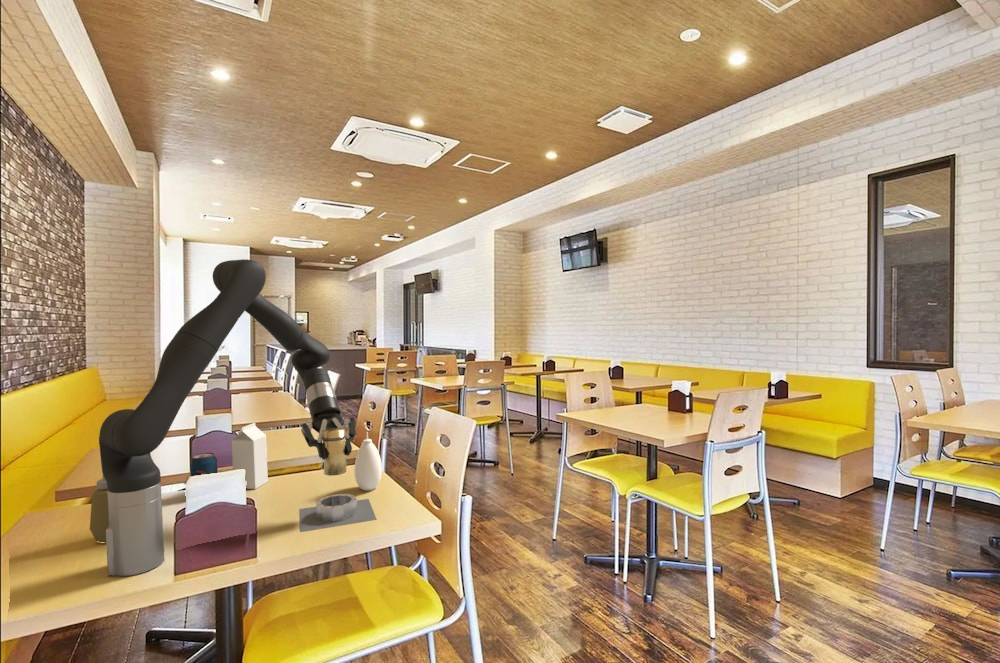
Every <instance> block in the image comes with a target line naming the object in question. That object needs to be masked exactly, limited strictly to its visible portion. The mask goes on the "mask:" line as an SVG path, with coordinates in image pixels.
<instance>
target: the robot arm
mask: <svg viewBox="0 0 1000 663" xmlns="http://www.w3.org/2000/svg"><path fill="white" fill-rule="evenodd" d="M265 270H266V269H265V268H264V266H263V265H262V264H261V263H259V261H257V260H254V259H245V258H244V259H243V258H242V259H234V260H233V259H231V260H229V259H228V260H226V261H225V260H224V261H221V262H220V263H218V264H217V265H216V266H215V267H214V268H213V270H212V281H213V284H214V286H215V288H216V290H218V291H219V294H218V295H217V296H216V297H215V298H214V300H212V302H210V303H209V304H208V305H207V306H205V307H204V308H203V309H201V310H200V311H198V313H196V314H195V315H194V316H192V317H191V318H189V319H188V320H187V321H186V322H185V323H184V324H183V325H182V326H181V327H180V328H179V329H178V331H177V332H176V333H175V335H174V336H173V338H172V339H171V340H170V342H168V344H167V345H166V347H165V348H164V350H163V353H162V356H161V358H160V362H159V365H158V369H157V370H158V371H157V375H156V378H155V381H154V383H153V385H152V387H151V388H150V390H149V391H148V393H147V394H146V396H145V397H144V398H143V399H142V401H141V402H140V403H139V404H138V406H137V407H136V408H135V409H134V408H133V409H132V408H131V409H129V408H125V409H120V410H119V409H118V410H115V411H114V412H112V413H110V414H109V415H108V416H107V417H106V418H105V419H104V421H103V422H102V424H101V427H100V429H99V436H98V441H99V454H100V463H101V464H100V465H101V473H102V477H103V476H104V478H105V480H106V482H107V490H108V510H109V527H108V529H107V530H106V543H105V544H106V546H105V547H106V560H107V562H106V563H107V564H106V565H107V576H108V575H112V576H117V577H126V576H127V577H128V576H134V575H138V574H142V573H146V572H148V571H150V570H152V569H154V568H158V567H159V566H160V565H162V564H163V562H164V561H165V544H164V543H165V542H164V522H163V502H162V500H163V499H162V484H161V483H162V482H161V471H160V468H159V467H158V466H157V465H156V463H155V462H154V460H153V457H152V456H151V453H152V452H154V451H155V450H156V449H157V448H158V447H159V446H160V445H161V444H162V442H163V441H164V440H165V438H166V436H167V435H168V432H169V430H170V429H171V426H172V425H173V423H174V421H175V419H176V416H177V415H178V414H179V411H180V409H181V407H182V406H183V404H184V402H185V400H186V399H187V397H188V396H189V394H190V393H191V391H192V390H193V388H194V386H195V385H196V384H197V382H198V380H199V379H200V378H201V376H202V375H203V373H204V372H205V370H206V369H207V368H208V366H209V365H210V363H211V362H212V360H213V359H214V357H215V356H216V355H217V353H218V351H219V349H220V348H221V346H222V344H223V342H224V341H225V340H226V338H227V337H228V336H229V333H230V332H231V331H232V330H233V328H234V327H235V325H236V323H237V322H238V320H239V319H240V318H241V316H242V315H243V314H244V312H246V313H247V314H249V316H251V317H252V318H253V320H255V321H256V322H258V323H259V324H260V325H261V326H262V327H263V328H264V329H266V331H267V332H268V333H270V335H271V336H272V337H273V338H274V339H275V340H276V341H277V342H278V343H279V344H280V346H282V348H283V349H285V351H288V352H294V353H293V354H292V357H291V360H290V361H291V364H292V367H293V368H294V369H295V371H296V372H297V374H298V375H299V377H300V378H301V380H302V382H303V385H304V390H305V394H306V402H307V403H306V404H307V407H308V410H309V414H310V415H309V416H310V418H311V423H306V422H304V423H302V425H301V426H302V427H301V428H300V429H301V433H302V436H303V438H304V440H305V441H306V443H307V445H308V447H309V448H313V447H314V448H316V450H317V454H318V457H319V458H320V459H321V460H323V461H324V459H326V456H327V455H326V450H325V447H324V443H323V440H322V436H323V430H325V429H329V428H344V426H343V425H345V426H346V428H348V432H347V431H346V430H345V435H346V438H345V446H346V457H347V456H350V455H351V453H352V451H353V446H352V443H351V442H353V441H354V440H355V437H356V434H357V431H356V420H355V417H353V416H350V418H345V417H344V416H343V415H342V413H341V409H340V405H339V402H338V399H337V398H338V397H337V396H336V392H335V390H334V387H333V385H332V382H331V378H330V374H329V372H328V371H327V370H326V369H324V368H322V366H324V365H326V364H327V363H328V362H329V361H330V359H331V352H330V350H329V348H328V347H327V346H326V345H325V344H324V343H323V342H321V341H320V340H319V339H317V338H315V337H313V336H311V334H309V333H308V332H306V331H304V330H303V328H302V327H301V325H299V323H297V321H296V320H295V319H294V318H293V317H292V316H290V315H289V314H288V313H287V312H286V311H284V310H283V309H281V308H280V307H278V306H277V305H275V304H274V303H272V302H270V300H268V299H266V298H265V297H264V296H263V295H262V294H261V293H262V290H263V288H264V287H265V284H266V281H267V279H266V278H267V275H266V274H267V273H266V271H265ZM320 367H321V368H320ZM312 430H314V431H315V432H317V433H318V436H317V439H316V438H315V437H314V435H313V433H312Z"/></svg>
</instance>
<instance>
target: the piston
mask: <svg viewBox="0 0 1000 663" xmlns="http://www.w3.org/2000/svg"><path fill="white" fill-rule="evenodd" d="M345 431H346V428H345V427H343V428H329V429H325V430H323V436H322V440H323V441H322V443H324V447H325V450H326V455H327V456H326V459H324V460H323V473H324V475H325V476H330V477H331V476H333V477H334V476H340V475H343V474H345V473H346V472H347V456H346V446H345V438H346V435H345Z"/></svg>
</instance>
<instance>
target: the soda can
mask: <svg viewBox="0 0 1000 663" xmlns="http://www.w3.org/2000/svg"><path fill="white" fill-rule="evenodd" d="M189 468H190V470H189V471H190V472H189V473H190V477H191V476H194V475H201V474H210V473H217V472H218V460H217V457H216V456H215V453H214V452H203V453H202V452H201V453H197V454H194V455H192V457H191V460H190V462H189Z"/></svg>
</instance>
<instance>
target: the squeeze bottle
mask: <svg viewBox="0 0 1000 663" xmlns="http://www.w3.org/2000/svg"><path fill="white" fill-rule="evenodd" d="M90 506H91V507H90V518H89V520H90V521H89V530H90V532H91V534H92V536H93V538H94V540H95V542H96V541H99V542H106V530H107V529H108V527H109V510H108V490H107V482H106V480H105V478H104V476H103V475H102V478H101V479H98V480H96V490H94V491H93V492H92V494H91V505H90Z"/></svg>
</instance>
